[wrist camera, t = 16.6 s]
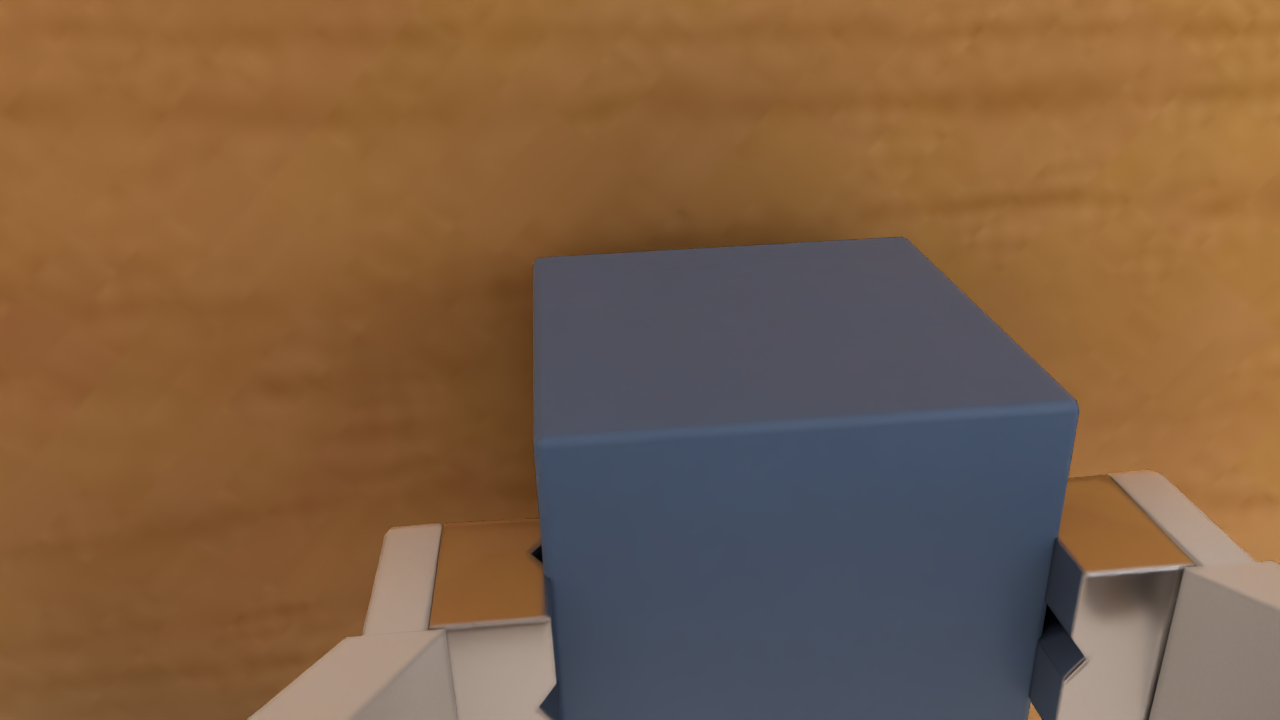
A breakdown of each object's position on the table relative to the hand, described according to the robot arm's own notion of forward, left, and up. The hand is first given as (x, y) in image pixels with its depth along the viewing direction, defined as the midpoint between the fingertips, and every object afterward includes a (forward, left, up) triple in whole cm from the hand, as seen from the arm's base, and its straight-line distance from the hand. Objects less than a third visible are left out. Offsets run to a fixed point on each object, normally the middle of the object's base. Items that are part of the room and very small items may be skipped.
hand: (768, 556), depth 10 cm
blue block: (0, 0, -3) cm, 3 cm away
